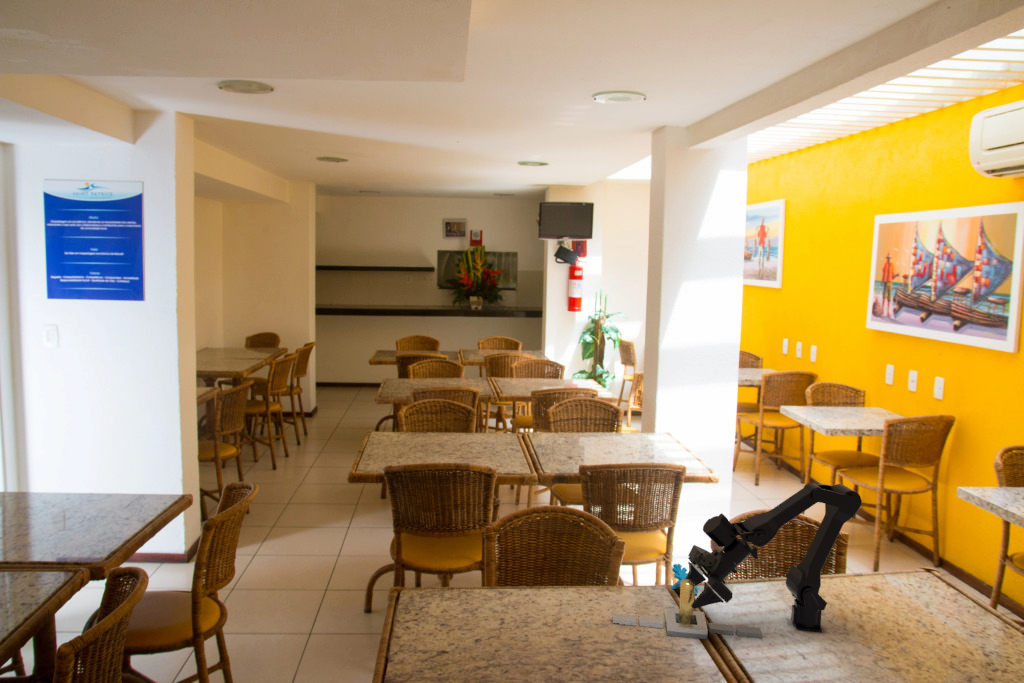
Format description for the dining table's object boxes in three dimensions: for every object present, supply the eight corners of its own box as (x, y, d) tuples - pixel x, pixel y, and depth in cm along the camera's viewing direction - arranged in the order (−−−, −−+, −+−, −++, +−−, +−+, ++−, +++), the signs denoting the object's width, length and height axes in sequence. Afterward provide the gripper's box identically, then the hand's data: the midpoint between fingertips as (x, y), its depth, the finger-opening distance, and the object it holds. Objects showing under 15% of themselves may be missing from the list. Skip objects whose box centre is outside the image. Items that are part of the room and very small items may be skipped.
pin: (694, 626, 185) (696, 581, 184) (691, 632, 182) (693, 586, 181) (680, 623, 187) (682, 578, 186) (677, 629, 184) (679, 583, 183)
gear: (692, 596, 199) (671, 565, 203) (677, 607, 201) (656, 576, 205) (704, 587, 208) (683, 558, 212) (689, 598, 210) (669, 569, 214)
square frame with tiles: (757, 625, 186) (758, 617, 186) (764, 645, 176) (765, 636, 176) (613, 611, 193) (613, 603, 192) (612, 629, 183) (612, 620, 183)
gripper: (696, 524, 192) (656, 563, 192) (722, 551, 173) (676, 595, 174) (723, 551, 193) (683, 590, 193) (751, 581, 175) (706, 624, 175)
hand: (686, 599), depth 184 cm, fingers open, 9 cm apart
